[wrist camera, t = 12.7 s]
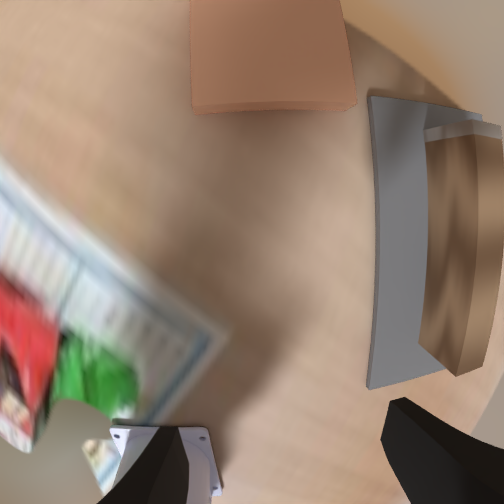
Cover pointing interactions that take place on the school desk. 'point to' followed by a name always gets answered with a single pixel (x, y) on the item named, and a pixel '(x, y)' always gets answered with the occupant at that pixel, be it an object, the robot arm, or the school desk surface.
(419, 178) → the mat
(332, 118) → the school desk surface
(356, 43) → the school desk surface
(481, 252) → the brown block
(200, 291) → the school desk surface
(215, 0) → the tile
